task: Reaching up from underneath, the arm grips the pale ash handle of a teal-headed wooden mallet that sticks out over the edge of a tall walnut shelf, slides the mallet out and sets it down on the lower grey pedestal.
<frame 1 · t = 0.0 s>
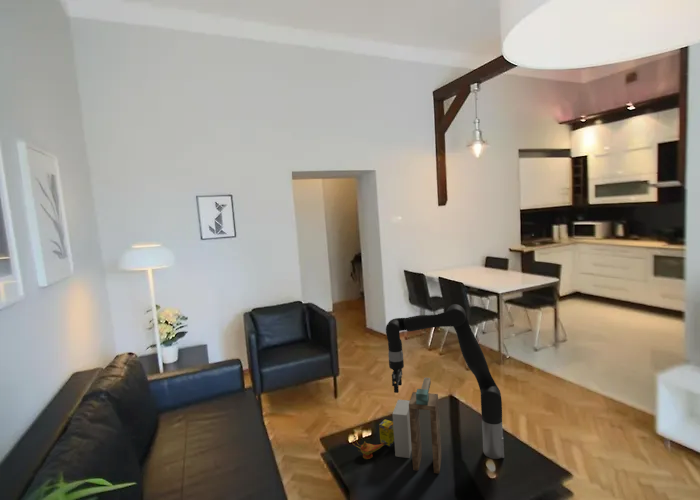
hand: (398, 388, 193), 29 cm above the table, tool pointing down, fingers open, 8 cm apart
supplement box: (388, 443, 196), on the table
magic lamp: (371, 456, 187), on the table
mallet: (424, 395, 178), point 32 cm above the table, touching walnut shelf
grey pedestal: (404, 448, 191), on the table
walnut shelf: (427, 463, 178), on the table
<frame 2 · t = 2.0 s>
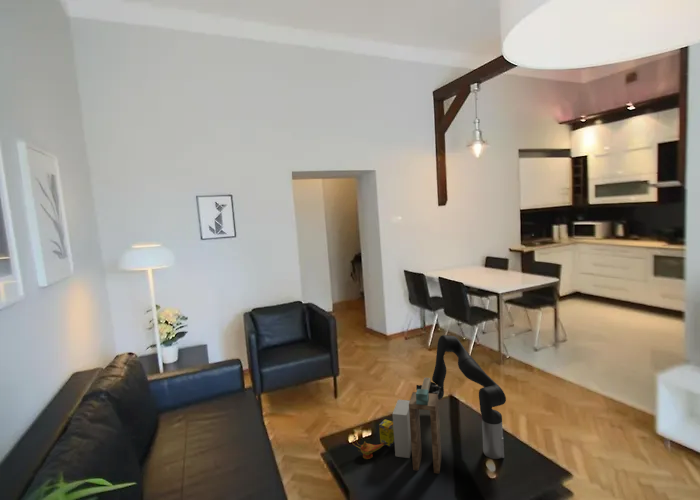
hand: (428, 387, 194), 28 cm above the table, tool pointing upward, fingers open, 8 cm apart
nothing on the table moved.
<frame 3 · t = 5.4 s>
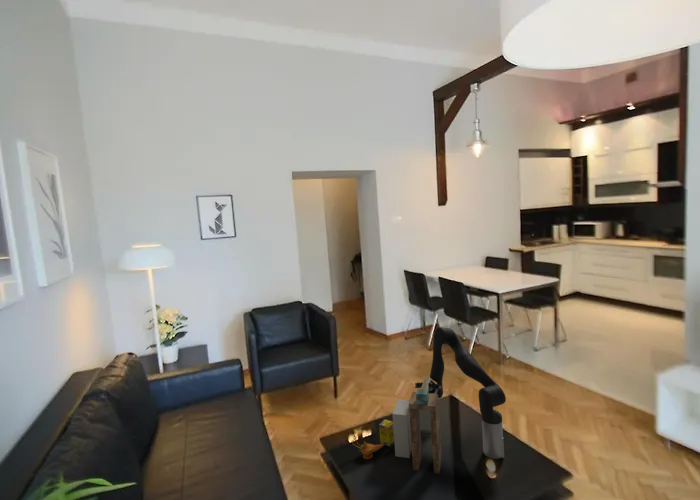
hand: (425, 384, 183), 35 cm above the table, tool pointing upward, fingers closed on mallet, 3 cm apart
mallet: (424, 395, 178), point 32 cm above the table, touching gripper, walnut shelf
everything else where it was.
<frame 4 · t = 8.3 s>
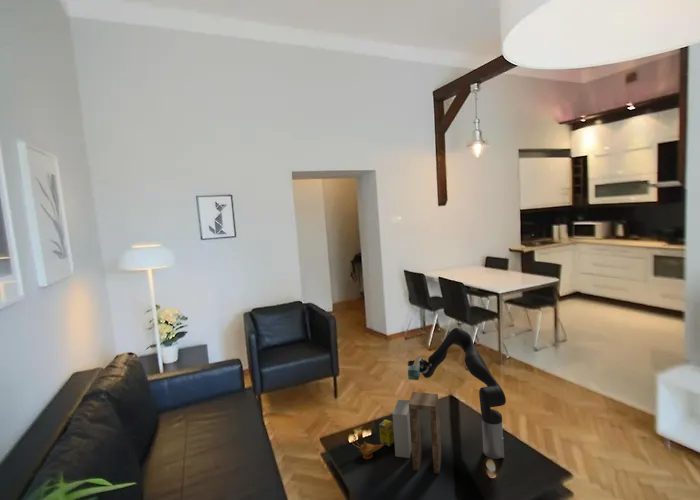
hand: (417, 362, 200), 39 cm above the table, tool pointing upward, fingers closed on mallet, 3 cm apart
mallet: (416, 371, 196), point 36 cm above the table, touching gripper
everything else where it was.
when the fingers open (26 cm above the table, at t = 11.4 s): mallet stays where it is, resting on grey pedestal.
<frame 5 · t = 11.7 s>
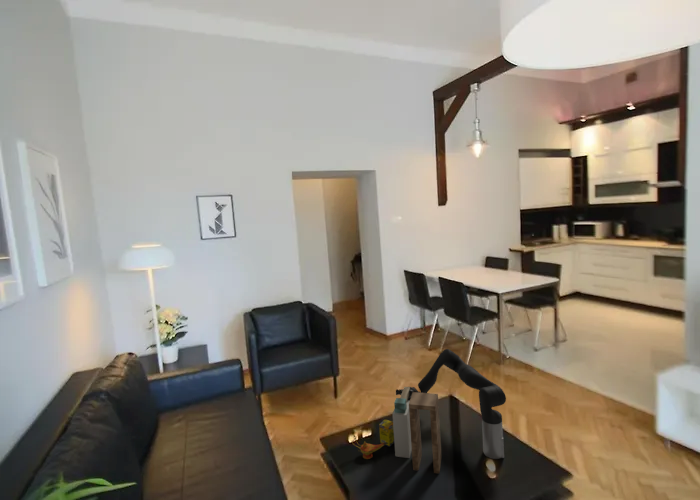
hand: (404, 392, 196), 26 cm above the table, tool pointing upward, fingers open, 5 cm apart
mallet: (403, 403, 192), point 22 cm above the table, touching grey pedestal
everything else where it was.
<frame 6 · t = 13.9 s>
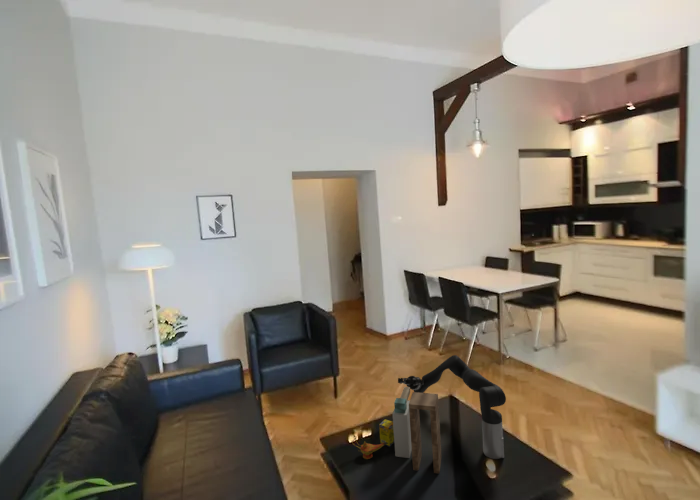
hand: (408, 380, 209), 26 cm above the table, tool pointing upward, fingers open, 8 cm apart
nothing on the table moved.
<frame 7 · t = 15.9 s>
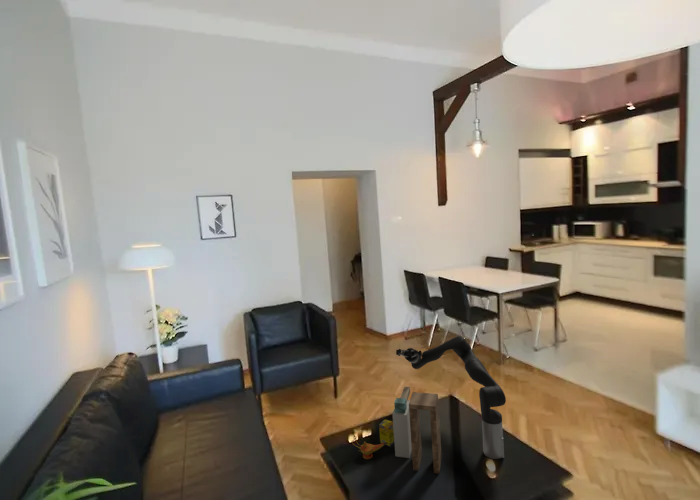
hand: (406, 351, 208), 43 cm above the table, tool pointing upward, fingers open, 8 cm apart
nothing on the table moved.
at the end: mallet inside the target area (0.5 cm from its centre), point 22.0 cm above the table; mallet touching grey pedestal; the gripper is holding nothing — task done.
